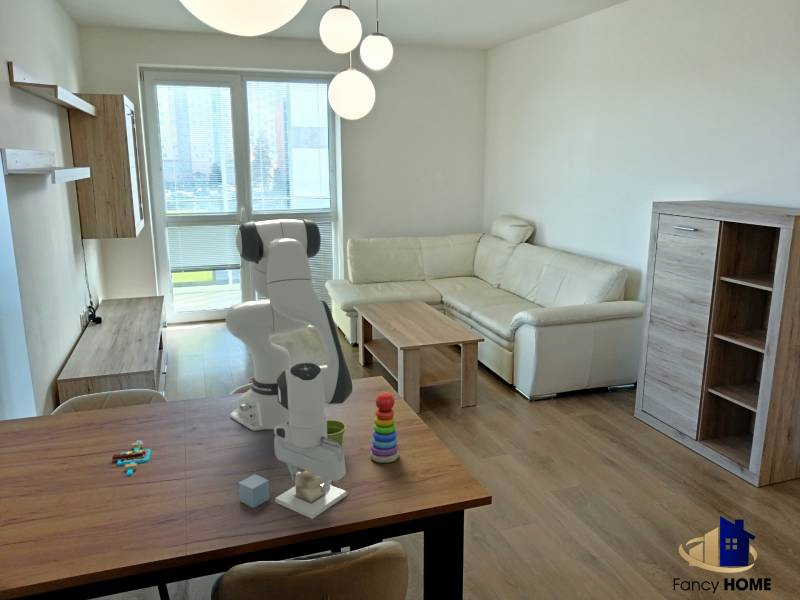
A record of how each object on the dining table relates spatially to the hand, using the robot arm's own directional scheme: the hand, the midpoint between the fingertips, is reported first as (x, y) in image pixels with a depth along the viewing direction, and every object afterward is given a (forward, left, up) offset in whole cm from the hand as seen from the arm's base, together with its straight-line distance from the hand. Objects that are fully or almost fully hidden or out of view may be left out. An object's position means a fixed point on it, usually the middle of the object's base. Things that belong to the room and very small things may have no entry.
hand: (310, 485), depth 146 cm
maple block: (0, 0, -2) cm, 2 cm away
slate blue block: (-11, -8, -4) cm, 14 cm away
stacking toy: (+2, +27, -4) cm, 27 cm away
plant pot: (-11, +19, -4) cm, 22 cm away
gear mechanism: (-55, -13, -4) cm, 57 cm away
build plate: (0, 0, -4) cm, 4 cm away
